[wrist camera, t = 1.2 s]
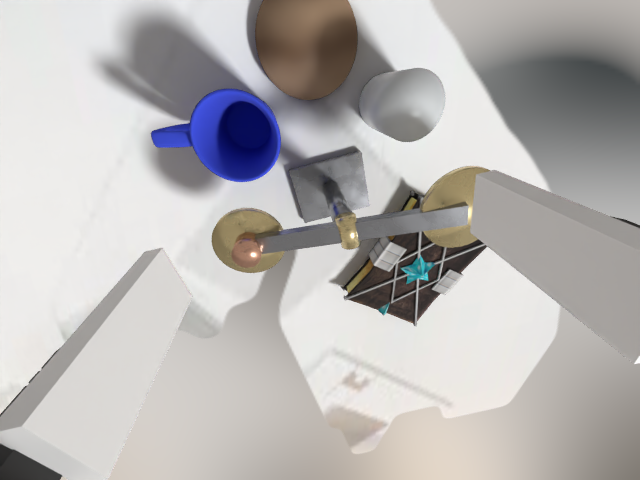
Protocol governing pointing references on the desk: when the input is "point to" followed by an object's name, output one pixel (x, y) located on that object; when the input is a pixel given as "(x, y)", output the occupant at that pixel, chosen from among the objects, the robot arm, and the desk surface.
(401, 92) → the white cylinder
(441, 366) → the desk surface
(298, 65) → the dish
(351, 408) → the desk surface
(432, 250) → the book
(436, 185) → the balance
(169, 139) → the mug
